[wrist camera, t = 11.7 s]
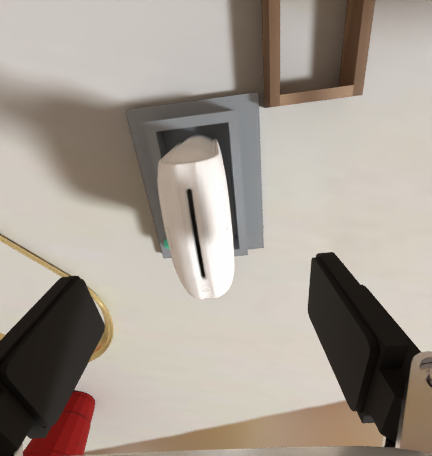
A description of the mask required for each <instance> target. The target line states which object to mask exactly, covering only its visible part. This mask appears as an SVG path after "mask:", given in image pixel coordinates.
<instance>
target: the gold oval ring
mask: <svg viewBox="0 0 432 456" xmlns="http://www.w3.org/2000/svg"><path fill="white" fill-rule="evenodd" d="M0 241H1V242H3V243H5V244H6V245H8V246H10V247H11V248H13V249H15V250H17V251H18V252H20V253H22V254H24V255H25V256H27V257H29V258H30V259H32V260H34V261H36V262H37V263H39V264H41V265H42V266H44V267H46V268H48V269H49V270H51V271H53V272H54V273H56V274H58V275H60V276H61V277H68V276H69V275H67V274H65V273H63V272H62V271H60V270H58V269H57V268H55V267H53V266H52V265H50V264H48V263H47V262H45V261H43V260H41V259H40V258H38V257H36V256H35V255H33V254H31V253H30V252H28V251H26V250H25V249H23V248H21V247H19V246H18V245H16V244H14V243H13V242H11V241H9V240H8V239H6V238H4V237H3V236H1V235H0ZM87 288H88V287H87ZM88 290H89V292H90V294H91V297H92V298H93V299H94V300H95V301H96V302H97V304H98V305H99V307H100V308H101V310H102V312H103V315H104V318H105V331H104V334H103V336H102V338H101V339H100V341H99V343H98V345H97V347H96V349H95V351H94V353H93V354H92V356H91V358H90V360H89V362H90V361H92V360H94V359H96V358H97V357H99V356H100V355H102V354H103V353H104V352H105V351H106V350H107V348H108V347H109V345H110V343H111V341H112V338H113V323H112V319H111V316H110V313H109V311H108V309H107V308H106V306H105V305H104V303H103V302H102V301H101V299H100V298H99V297H98V296H97V295H96V294H95V293H94V292H93V291H92V290H90V289H89V288H88ZM109 326H110V328H109ZM4 336H5V335H4V334H2V333H0V340H1V339H2V338H3V337H4Z"/></svg>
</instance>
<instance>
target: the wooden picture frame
mask: <svg viewBox="0 0 432 456" xmlns="http://www.w3.org/2000/svg"><path fill="white" fill-rule="evenodd" d="M374 5H375V0H347V10H346V20H345V30H344V41H343V51H342V61H341V72H340V82H339V87H335V88H328V89H320V90H313V91H305V92H298V93H290V94H283V95H280V0H262V23H263V64H264V106H265V108H267V107H275V106H282V105H290V104H298V103H305V102H313V101H320V100H328V99H335V98H343V97H350V96H358V95H362V93H363V86H364V78H365V71H366V64H367V56H368V49H369V42H370V34H371V27H372V20H373V12H374Z"/></svg>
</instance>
